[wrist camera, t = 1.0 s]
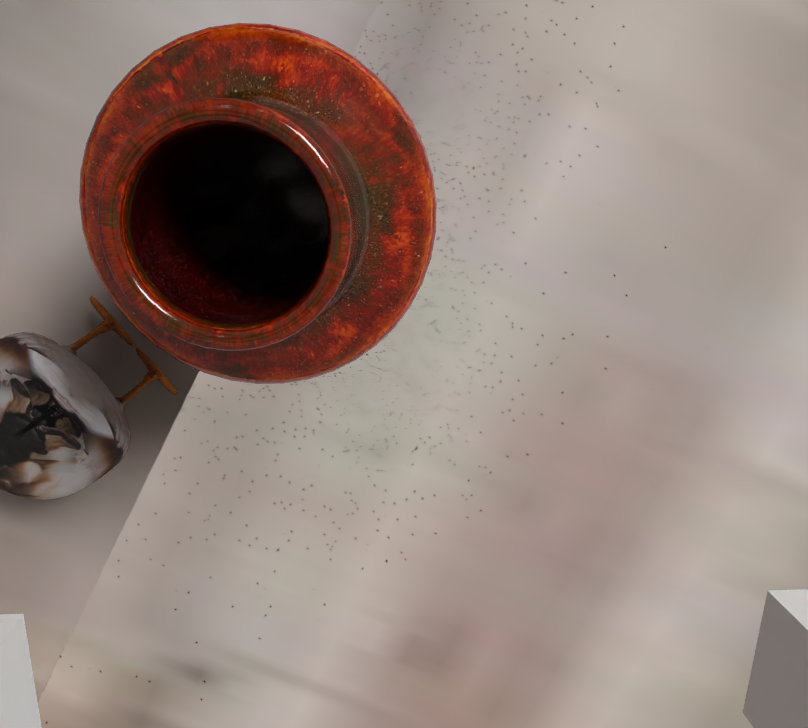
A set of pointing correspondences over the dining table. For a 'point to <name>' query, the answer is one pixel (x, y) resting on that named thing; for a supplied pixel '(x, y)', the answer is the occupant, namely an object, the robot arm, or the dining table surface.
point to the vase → (257, 203)
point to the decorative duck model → (60, 414)
